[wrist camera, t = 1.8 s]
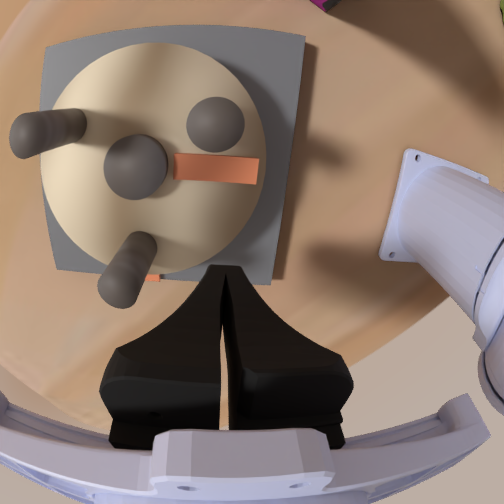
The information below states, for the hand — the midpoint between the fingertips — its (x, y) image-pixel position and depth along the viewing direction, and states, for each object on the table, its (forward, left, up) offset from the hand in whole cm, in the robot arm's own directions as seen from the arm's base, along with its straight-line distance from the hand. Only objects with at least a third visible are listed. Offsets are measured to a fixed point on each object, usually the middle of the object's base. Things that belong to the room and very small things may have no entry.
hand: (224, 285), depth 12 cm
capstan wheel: (+4, -4, -5) cm, 8 cm away
